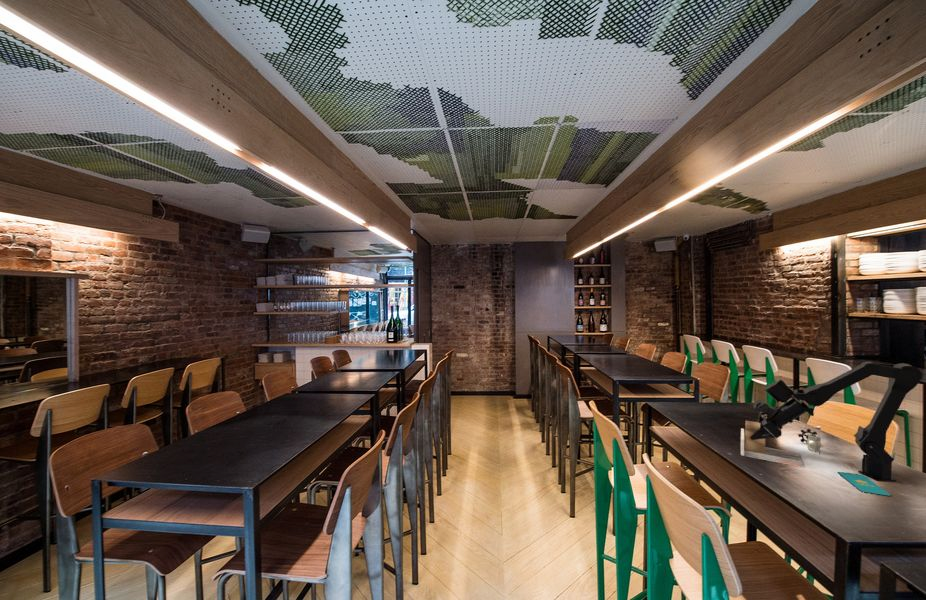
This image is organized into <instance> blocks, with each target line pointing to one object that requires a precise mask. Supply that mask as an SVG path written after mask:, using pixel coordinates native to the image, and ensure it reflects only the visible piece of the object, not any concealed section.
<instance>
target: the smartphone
mask: <svg viewBox="0 0 926 600" xmlns="http://www.w3.org/2000/svg"><path fill="white" fill-rule="evenodd" d="M837 474H838V475H839V476H840V477H841V478H843V479H844V480H845V481H847V483H849V484H850V485H851V486H853V487H854V488H855V487H856V488H855V489H857V490H858V491H859V492H860V491H861V493H863V492H864V493H863V494H868V493H870V495H874V494H876V496H881V495H882V496H883V497H887V498H890V496H891V497H892V495H891V494H890V493H889V492H887V491H886V490H885V489H883V488H882V487H881V486H879V485H878V484H876V483H875V482H874V481H872V480H871V479H869V477H868V476H866V475H863V474H861V473H859V474H858V473H852V472H846V471H845V472H843V471H837ZM882 496H881V497H882Z"/></svg>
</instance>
